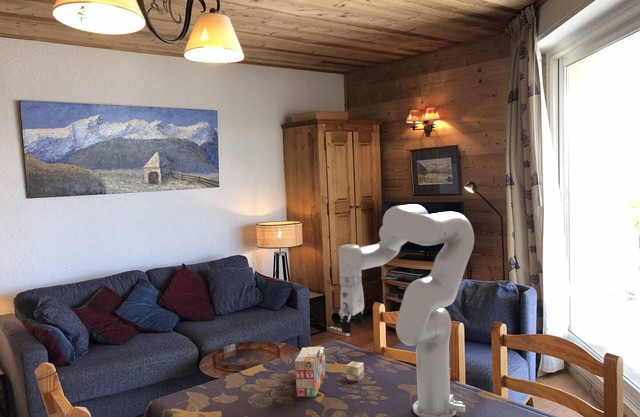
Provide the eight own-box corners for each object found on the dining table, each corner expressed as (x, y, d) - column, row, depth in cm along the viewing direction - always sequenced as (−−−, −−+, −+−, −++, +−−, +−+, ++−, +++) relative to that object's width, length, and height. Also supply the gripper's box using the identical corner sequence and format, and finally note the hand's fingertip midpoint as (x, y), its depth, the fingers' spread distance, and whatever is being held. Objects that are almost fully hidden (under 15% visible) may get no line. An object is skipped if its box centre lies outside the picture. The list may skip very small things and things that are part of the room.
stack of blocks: (309, 371, 185) (307, 338, 184) (326, 371, 184) (324, 338, 183) (296, 397, 164) (294, 360, 163) (315, 397, 163) (313, 360, 162)
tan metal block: (364, 376, 178) (363, 362, 177) (358, 381, 174) (358, 367, 173) (352, 374, 180) (351, 361, 179) (347, 379, 176) (346, 365, 175)
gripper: (349, 286, 165) (351, 337, 166) (370, 275, 180) (372, 322, 181) (329, 285, 169) (331, 335, 170) (351, 274, 184) (353, 320, 185)
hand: (352, 328), depth 176 cm, fingers open, 9 cm apart
